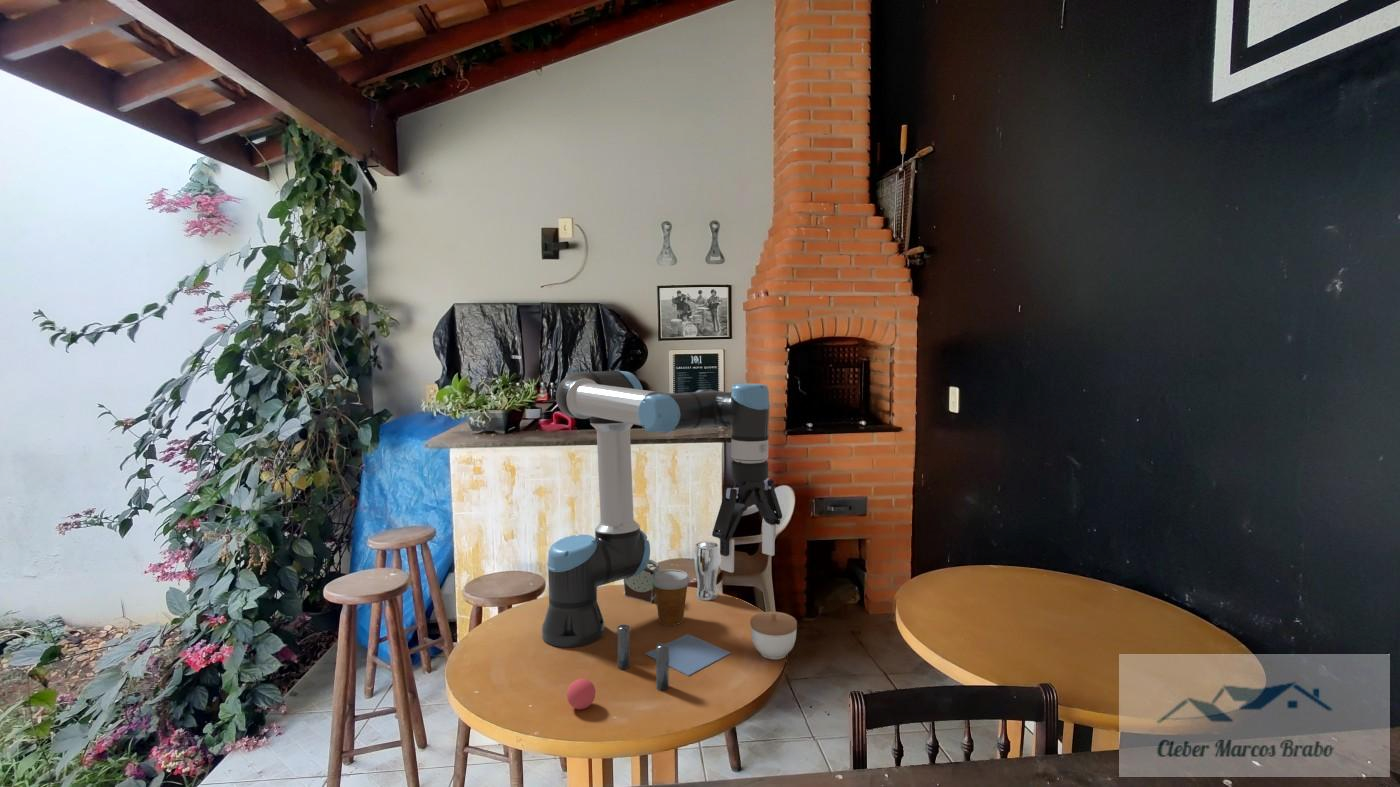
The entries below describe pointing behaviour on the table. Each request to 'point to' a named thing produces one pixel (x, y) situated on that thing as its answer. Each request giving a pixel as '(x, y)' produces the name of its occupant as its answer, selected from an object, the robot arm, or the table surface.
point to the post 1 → (623, 647)
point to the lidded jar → (773, 634)
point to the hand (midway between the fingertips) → (748, 562)
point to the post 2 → (662, 666)
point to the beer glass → (706, 569)
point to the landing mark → (691, 654)
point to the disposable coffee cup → (670, 595)
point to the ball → (581, 693)
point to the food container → (642, 583)
